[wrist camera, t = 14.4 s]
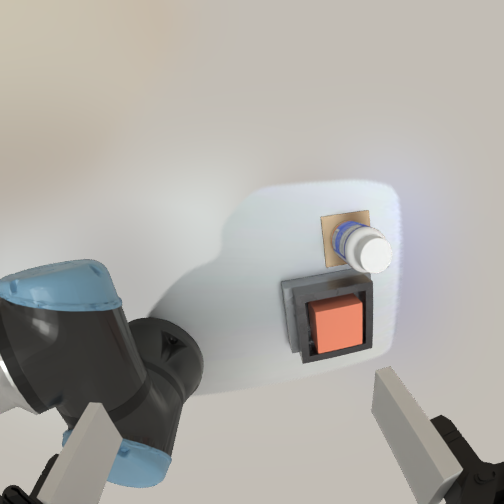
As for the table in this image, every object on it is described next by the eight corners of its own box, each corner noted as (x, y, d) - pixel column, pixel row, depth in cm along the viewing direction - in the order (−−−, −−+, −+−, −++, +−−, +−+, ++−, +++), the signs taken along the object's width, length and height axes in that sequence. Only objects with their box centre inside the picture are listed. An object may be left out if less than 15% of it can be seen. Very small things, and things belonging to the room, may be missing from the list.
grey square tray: (289, 342, 43) (295, 365, 37) (281, 281, 40) (287, 297, 34) (363, 327, 42) (378, 345, 37) (362, 266, 40) (379, 279, 34)
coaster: (326, 266, 40) (326, 267, 40) (320, 217, 38) (321, 217, 38) (371, 258, 40) (372, 259, 39) (367, 210, 38) (368, 210, 38)
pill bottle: (372, 241, 39) (406, 258, 29) (344, 266, 40) (372, 290, 30) (351, 211, 38) (382, 220, 28) (321, 237, 39) (345, 254, 29)
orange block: (310, 335, 40) (318, 353, 35) (307, 297, 39) (315, 312, 34) (350, 326, 40) (362, 343, 35) (349, 288, 38) (362, 302, 34)
